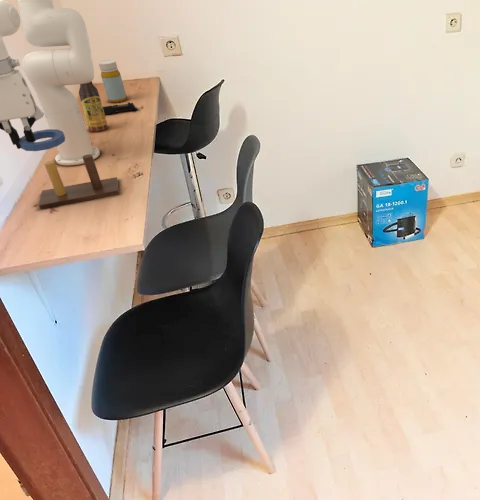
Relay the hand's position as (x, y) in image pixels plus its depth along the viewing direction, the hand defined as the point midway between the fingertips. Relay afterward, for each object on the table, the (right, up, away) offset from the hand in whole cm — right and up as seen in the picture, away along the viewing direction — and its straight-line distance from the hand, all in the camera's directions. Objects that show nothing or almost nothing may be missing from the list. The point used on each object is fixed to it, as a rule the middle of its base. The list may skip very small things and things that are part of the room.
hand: (25, 145), depth 123 cm
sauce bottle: (-10, +17, +56) cm, 59 cm away
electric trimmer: (-10, +26, +70) cm, 75 cm away
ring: (+4, +1, +1) cm, 4 cm away
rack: (+6, -10, +14) cm, 19 cm away
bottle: (-15, +35, +82) cm, 91 cm away
